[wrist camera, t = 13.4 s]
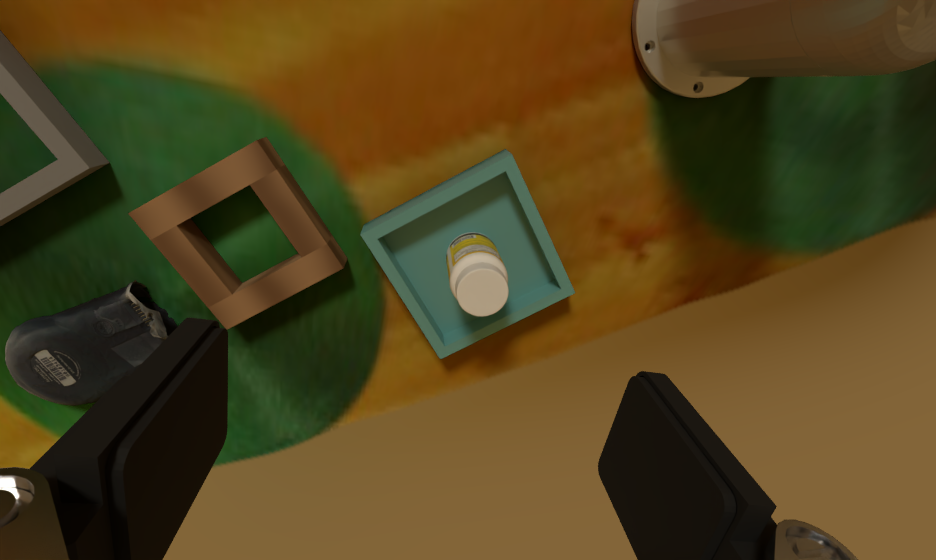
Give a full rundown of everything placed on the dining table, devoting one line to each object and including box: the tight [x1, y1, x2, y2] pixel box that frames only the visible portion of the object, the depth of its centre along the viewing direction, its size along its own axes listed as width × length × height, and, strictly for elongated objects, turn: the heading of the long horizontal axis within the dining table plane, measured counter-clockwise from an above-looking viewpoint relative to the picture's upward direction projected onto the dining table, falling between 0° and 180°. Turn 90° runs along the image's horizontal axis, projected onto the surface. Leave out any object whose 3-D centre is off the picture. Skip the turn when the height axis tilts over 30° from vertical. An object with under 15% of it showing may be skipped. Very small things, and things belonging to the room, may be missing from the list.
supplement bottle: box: [446, 232, 509, 316], centre depth 39 cm, size 5×5×8 cm
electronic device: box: [5, 280, 178, 405], centre depth 43 cm, size 9×6×15 cm
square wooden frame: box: [128, 137, 347, 329], centre depth 40 cm, size 12×12×2 cm
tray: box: [360, 149, 575, 359], centre depth 43 cm, size 14×14×3 cm
